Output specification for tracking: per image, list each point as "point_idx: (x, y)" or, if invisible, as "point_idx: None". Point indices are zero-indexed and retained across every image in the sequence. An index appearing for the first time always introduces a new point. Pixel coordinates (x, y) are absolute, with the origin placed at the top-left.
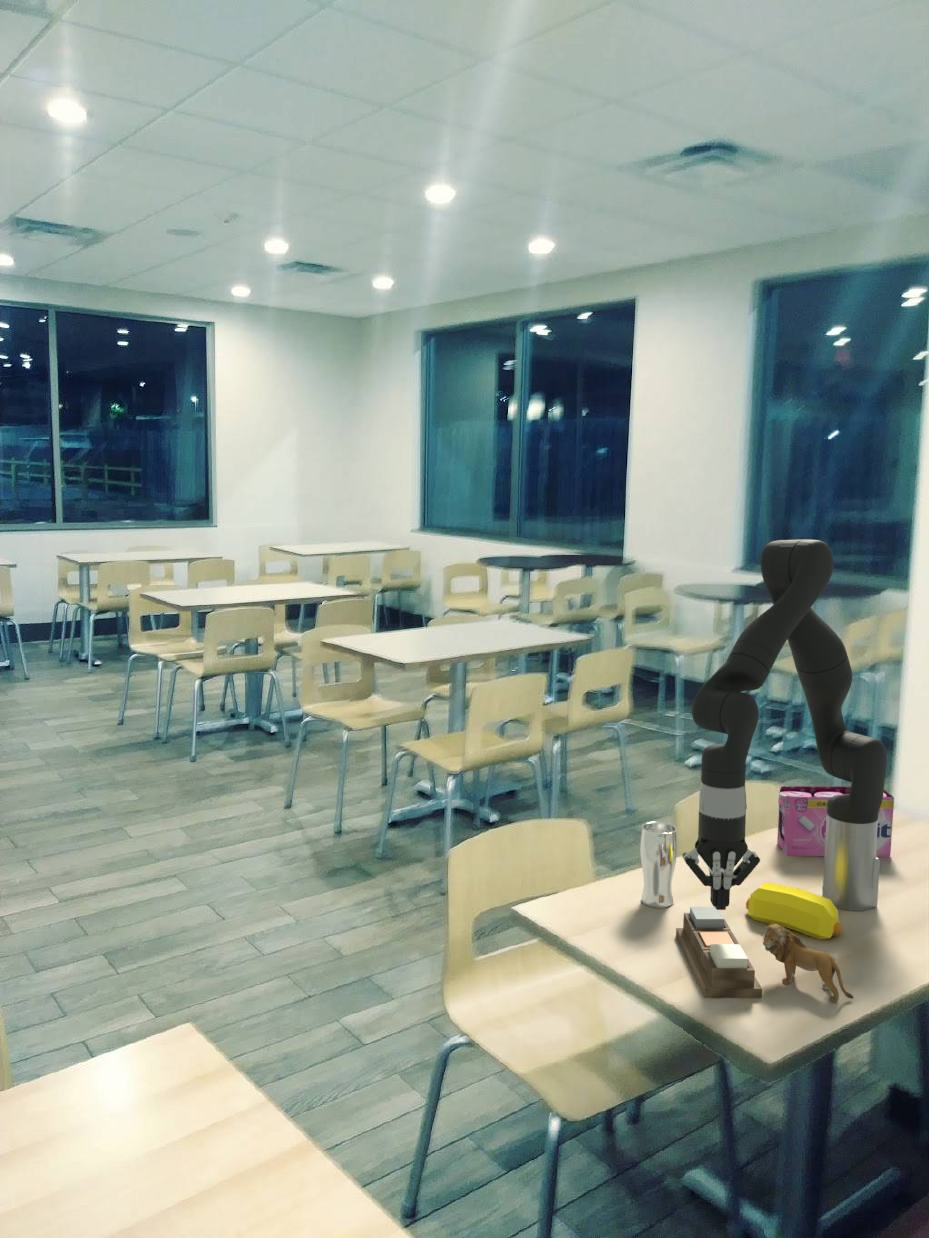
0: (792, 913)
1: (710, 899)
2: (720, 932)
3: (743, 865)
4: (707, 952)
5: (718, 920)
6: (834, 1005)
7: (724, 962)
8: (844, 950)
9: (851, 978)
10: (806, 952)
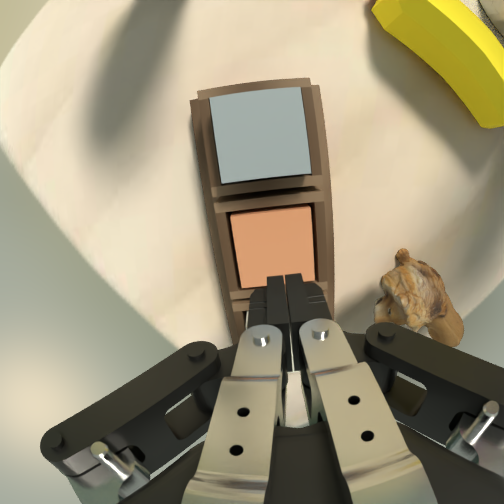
0: (466, 82)
1: (250, 298)
2: (290, 213)
3: (441, 415)
4: (241, 313)
5: (292, 174)
6: (420, 329)
7: None
8: (495, 161)
9: (474, 253)
10: (436, 326)
